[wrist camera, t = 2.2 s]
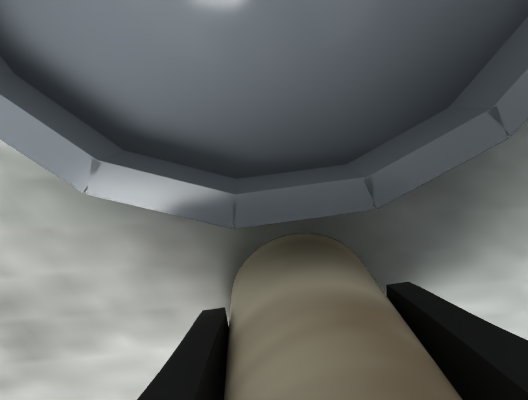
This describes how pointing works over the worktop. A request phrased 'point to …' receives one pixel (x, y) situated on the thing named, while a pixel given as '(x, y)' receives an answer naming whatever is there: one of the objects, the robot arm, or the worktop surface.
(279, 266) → the beige cylinder
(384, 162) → the round tray
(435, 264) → the worktop surface
